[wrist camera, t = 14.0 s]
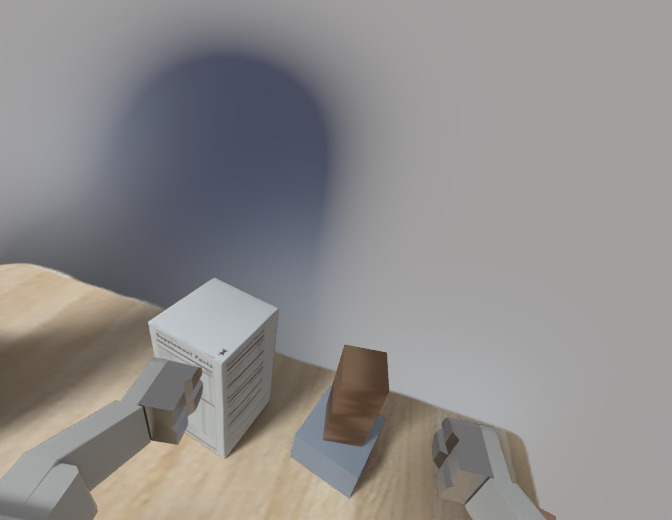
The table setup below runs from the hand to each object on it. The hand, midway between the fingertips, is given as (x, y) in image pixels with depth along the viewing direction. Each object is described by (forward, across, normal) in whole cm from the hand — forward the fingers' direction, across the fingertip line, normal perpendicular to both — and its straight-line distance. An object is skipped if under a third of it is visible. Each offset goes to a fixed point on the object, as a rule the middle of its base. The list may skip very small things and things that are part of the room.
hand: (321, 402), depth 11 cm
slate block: (+16, -4, +32) cm, 36 cm away
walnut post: (+16, -5, +27) cm, 32 cm away
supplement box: (+18, +11, +32) cm, 38 cm away
